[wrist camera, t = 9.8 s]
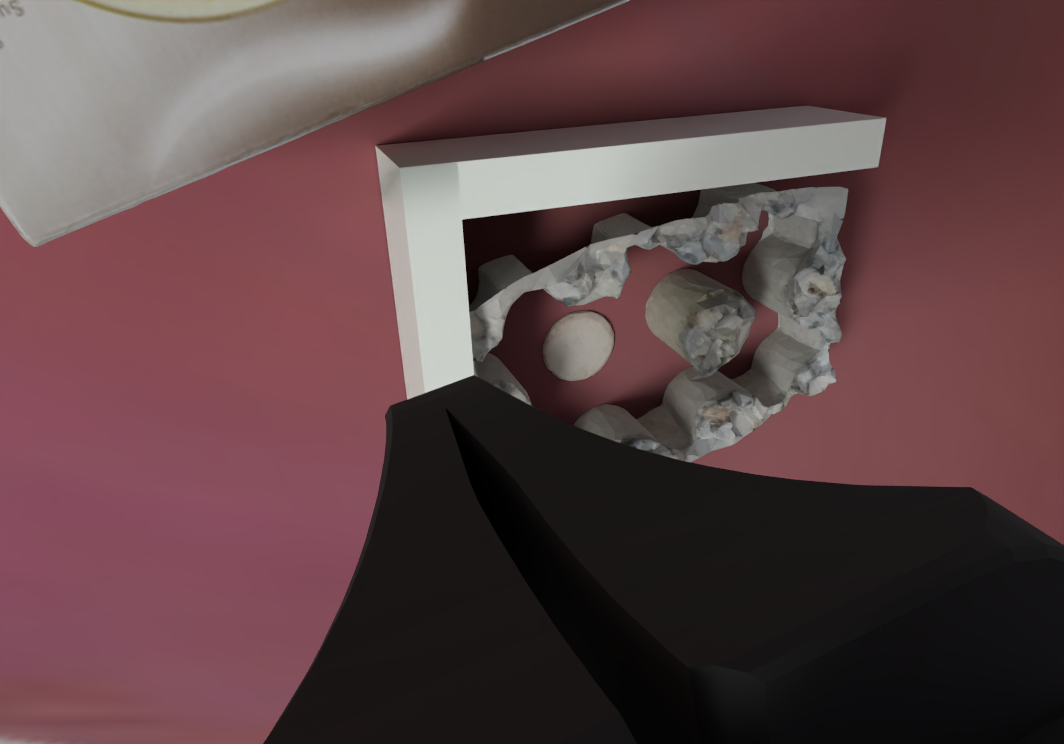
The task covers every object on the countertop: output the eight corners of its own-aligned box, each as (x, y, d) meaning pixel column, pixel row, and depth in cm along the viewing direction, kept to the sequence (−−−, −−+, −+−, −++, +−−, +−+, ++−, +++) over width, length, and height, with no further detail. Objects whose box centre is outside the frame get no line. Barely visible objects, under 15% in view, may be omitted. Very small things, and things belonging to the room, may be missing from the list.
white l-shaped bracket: (807, 105, 21) (886, 117, 18) (748, 579, 29) (798, 634, 26) (375, 145, 17) (399, 167, 15) (441, 674, 25) (465, 747, 23)
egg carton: (485, 479, 23) (528, 562, 19) (424, 251, 19) (464, 304, 16) (780, 371, 25) (867, 429, 22) (777, 149, 21) (880, 175, 18)
